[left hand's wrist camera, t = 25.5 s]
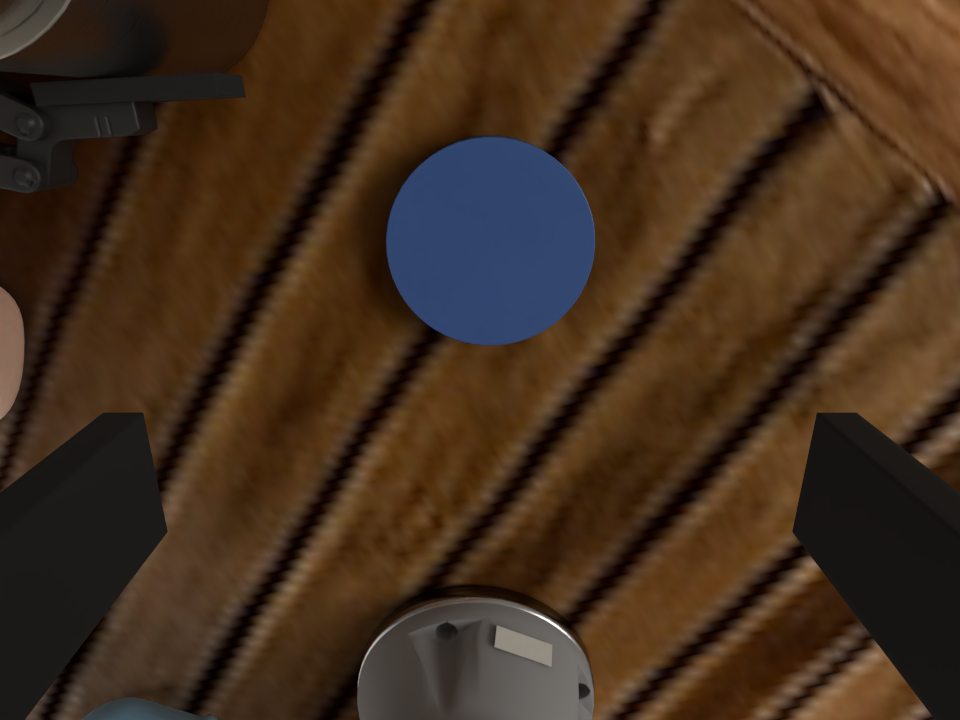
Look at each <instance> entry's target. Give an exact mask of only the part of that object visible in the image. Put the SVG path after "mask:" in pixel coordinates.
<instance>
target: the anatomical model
mask: <svg viewBox="0 0 960 720" xmlns="http://www.w3.org/2000/svg"><path fill="white" fill-rule="evenodd" d="M24 343H25V340H24V326H23V320H22V316H21V313H20V310H19V308H18V306H17V304H16V302H15V300H14V299H13V298H12V297H11V296H10V294H9V293H8V292H6V291H5V290H4V289H3V288H2V287H0V419H2V418H3V417H4V416H5V415H6V414H7V412H8V411H9V410H10V409H11V407H12V405H13V403H14V401H15V398H16V396H17V393H18V391H19V387H20V383H21V378H22V373H23V363H24Z"/></svg>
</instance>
